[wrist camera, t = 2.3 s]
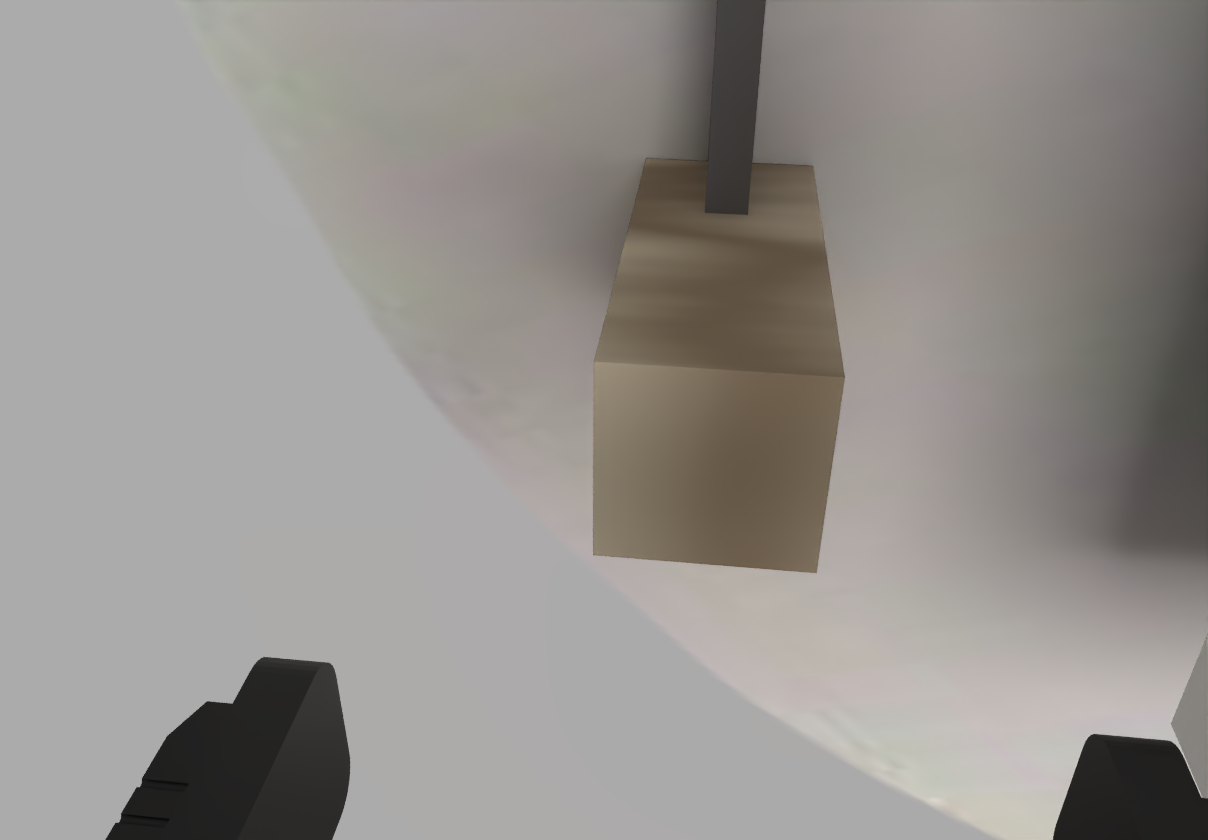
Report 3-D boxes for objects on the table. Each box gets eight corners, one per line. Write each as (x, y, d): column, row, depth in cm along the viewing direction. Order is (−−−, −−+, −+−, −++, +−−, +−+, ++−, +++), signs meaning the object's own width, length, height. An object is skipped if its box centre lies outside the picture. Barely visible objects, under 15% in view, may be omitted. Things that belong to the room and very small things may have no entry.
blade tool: (641, 307, 25) (593, 554, 17) (667, -565, 17) (598, -829, 9) (795, 316, 24) (815, 572, 17) (896, -569, 16) (1022, -847, 9)
